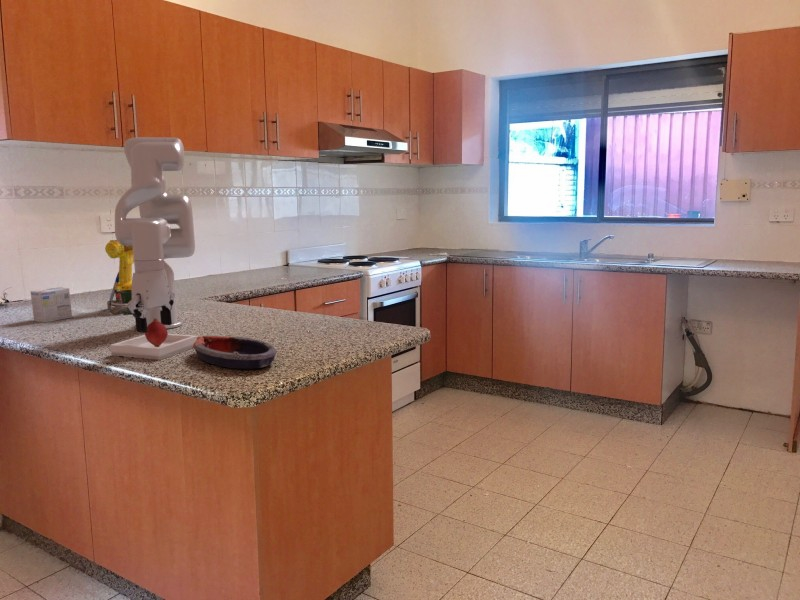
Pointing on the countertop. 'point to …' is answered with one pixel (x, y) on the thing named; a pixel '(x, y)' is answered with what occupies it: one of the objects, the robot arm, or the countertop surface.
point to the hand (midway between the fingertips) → (154, 328)
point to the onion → (156, 333)
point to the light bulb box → (51, 304)
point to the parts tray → (153, 347)
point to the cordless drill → (121, 277)
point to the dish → (234, 352)
